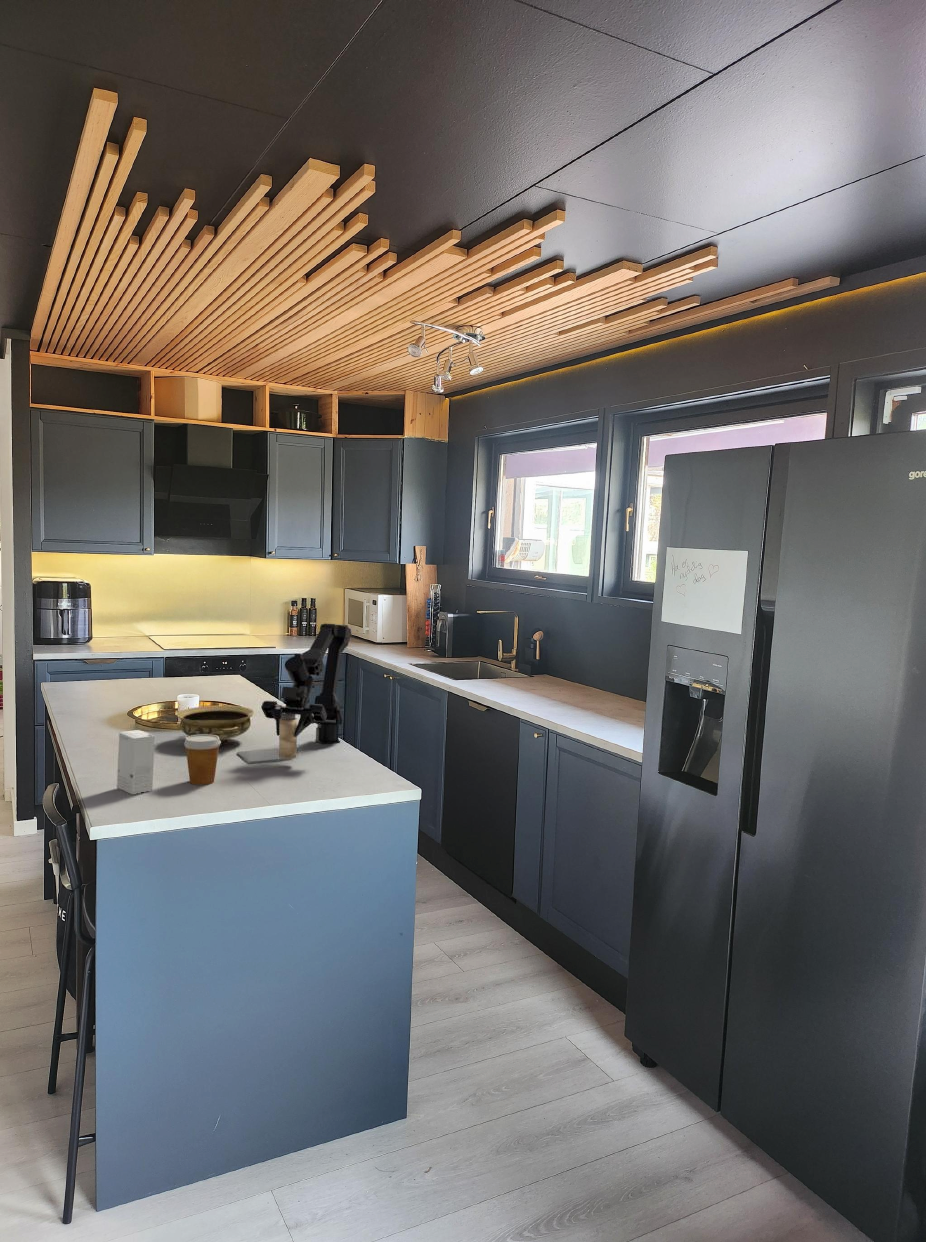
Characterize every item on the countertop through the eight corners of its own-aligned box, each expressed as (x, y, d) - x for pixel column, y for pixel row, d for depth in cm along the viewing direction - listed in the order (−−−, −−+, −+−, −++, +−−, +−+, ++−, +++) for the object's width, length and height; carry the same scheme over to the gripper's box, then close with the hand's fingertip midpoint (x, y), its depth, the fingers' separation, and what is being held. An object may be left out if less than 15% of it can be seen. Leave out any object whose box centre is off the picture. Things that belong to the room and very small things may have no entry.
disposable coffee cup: (227, 779, 228) (228, 736, 227) (206, 788, 219) (206, 743, 218) (198, 775, 231) (198, 732, 230) (175, 783, 222) (176, 739, 221)
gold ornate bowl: (163, 737, 274) (163, 707, 273) (234, 730, 288) (234, 701, 288) (194, 757, 250) (194, 724, 249) (269, 748, 264) (270, 717, 263)
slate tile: (278, 750, 263) (278, 748, 263) (291, 759, 252) (291, 757, 252) (237, 753, 256) (237, 751, 256) (248, 763, 245) (248, 761, 245)
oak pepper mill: (293, 754, 248) (293, 712, 246) (298, 758, 243) (299, 715, 242) (276, 755, 245) (277, 713, 244) (282, 759, 241) (282, 717, 240)
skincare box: (116, 788, 216) (116, 731, 215) (138, 784, 221) (138, 728, 220) (132, 795, 211) (133, 737, 210) (155, 790, 216) (155, 734, 214)
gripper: (264, 673, 247) (247, 717, 238) (324, 677, 244) (310, 722, 235) (274, 695, 256) (258, 738, 246) (332, 699, 253) (319, 743, 243)
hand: (286, 735), depth 242 cm, fingers closed on oak pepper mill, 5 cm apart
